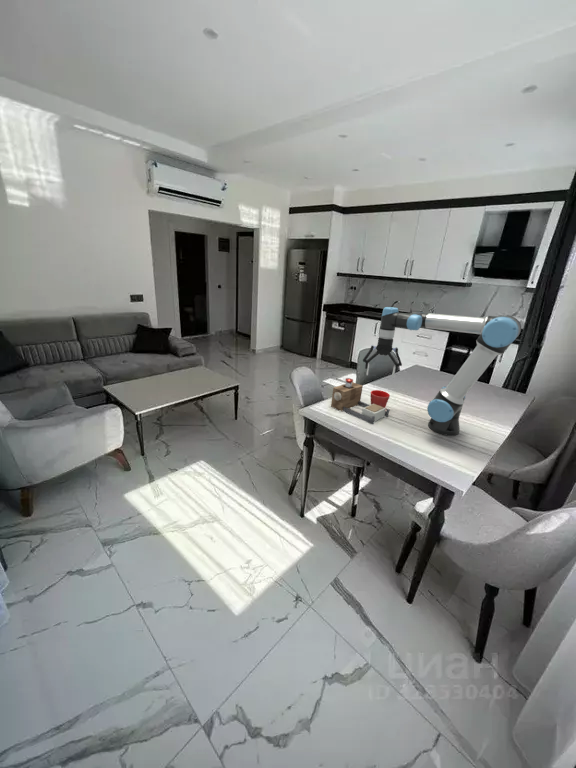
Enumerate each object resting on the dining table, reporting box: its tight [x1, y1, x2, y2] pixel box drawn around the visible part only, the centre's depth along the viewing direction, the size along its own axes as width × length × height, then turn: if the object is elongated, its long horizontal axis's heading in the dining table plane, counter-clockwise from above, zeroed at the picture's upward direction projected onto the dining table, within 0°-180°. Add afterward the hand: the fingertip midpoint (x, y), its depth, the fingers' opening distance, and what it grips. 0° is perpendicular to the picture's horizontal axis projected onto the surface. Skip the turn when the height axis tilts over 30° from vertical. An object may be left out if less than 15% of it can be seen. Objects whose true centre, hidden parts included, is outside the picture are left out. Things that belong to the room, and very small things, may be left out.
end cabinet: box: [330, 381, 364, 412], centre depth 186 cm, size 8×18×12 cm, turn 133°
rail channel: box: [342, 400, 390, 425], centre depth 178 cm, size 20×16×4 cm
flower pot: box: [370, 389, 391, 408], centre depth 185 cm, size 11×11×10 cm
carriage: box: [361, 404, 387, 422], centre depth 174 cm, size 8×11×6 cm
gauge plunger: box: [345, 377, 354, 389], centre depth 184 cm, size 4×4×8 cm
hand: (379, 376), depth 171 cm, fingers open, 13 cm apart
